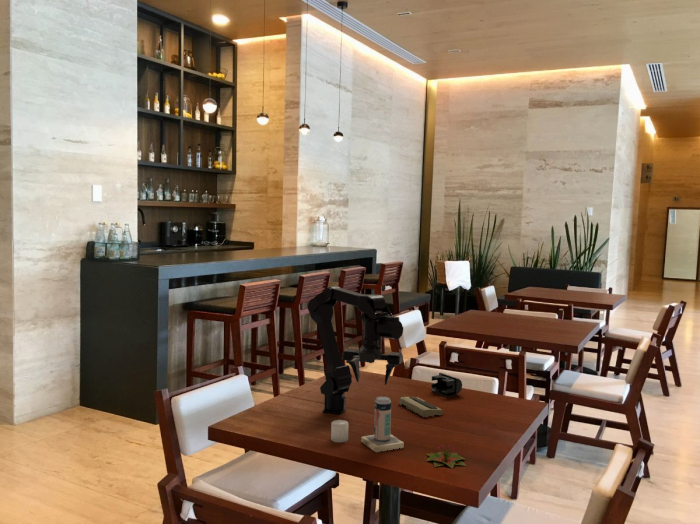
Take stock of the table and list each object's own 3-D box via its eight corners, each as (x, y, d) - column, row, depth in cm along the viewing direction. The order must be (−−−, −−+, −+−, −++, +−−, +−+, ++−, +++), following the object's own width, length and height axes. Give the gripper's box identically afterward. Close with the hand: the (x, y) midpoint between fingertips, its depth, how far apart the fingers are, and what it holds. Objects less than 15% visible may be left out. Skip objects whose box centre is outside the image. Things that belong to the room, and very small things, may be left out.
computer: (443, 416, 204) (443, 406, 204) (423, 419, 200) (423, 409, 200) (418, 403, 218) (418, 394, 218) (398, 405, 215) (399, 396, 214)
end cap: (462, 395, 228) (462, 377, 227) (447, 398, 224) (448, 379, 223) (444, 388, 236) (445, 371, 236) (430, 391, 232) (430, 373, 232)
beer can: (376, 435, 179) (377, 395, 178) (392, 437, 177) (392, 396, 176) (372, 440, 174) (372, 399, 173) (388, 442, 173) (389, 401, 172)
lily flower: (460, 453, 172) (460, 437, 172) (474, 470, 160) (474, 453, 160) (419, 454, 170) (419, 438, 170) (430, 471, 158) (430, 454, 158)
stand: (361, 441, 178) (361, 436, 178) (388, 437, 182) (388, 432, 182) (376, 452, 170) (376, 446, 170) (403, 447, 174) (403, 442, 173)
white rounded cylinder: (328, 441, 178) (329, 424, 177) (334, 435, 183) (334, 419, 182) (345, 443, 176) (345, 426, 176) (350, 437, 181) (350, 421, 181)
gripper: (336, 337, 187) (336, 386, 188) (395, 341, 182) (394, 392, 183) (347, 331, 198) (346, 378, 199) (403, 335, 192) (402, 383, 194)
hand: (371, 383), depth 193 cm, fingers open, 9 cm apart
